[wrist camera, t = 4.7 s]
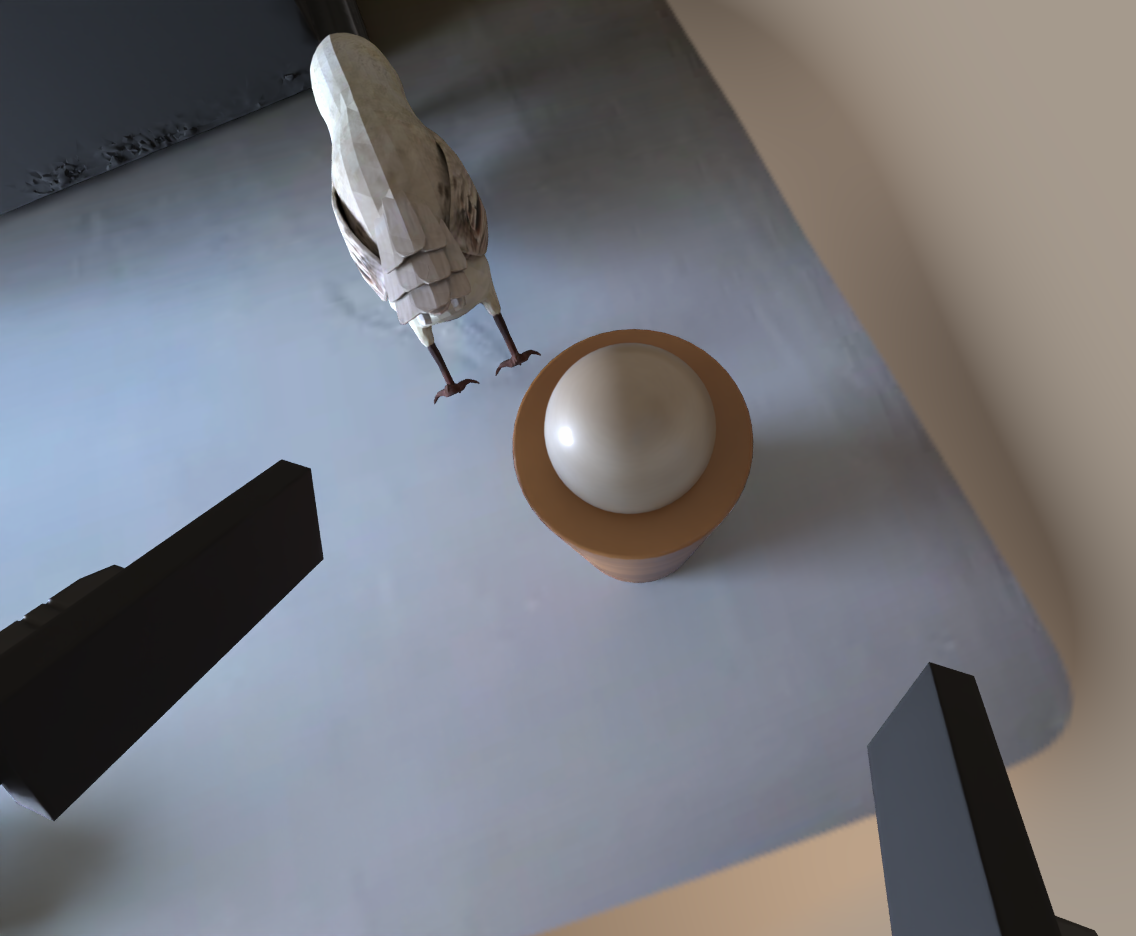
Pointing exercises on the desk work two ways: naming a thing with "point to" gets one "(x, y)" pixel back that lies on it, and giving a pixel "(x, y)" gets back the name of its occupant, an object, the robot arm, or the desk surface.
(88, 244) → the desk surface
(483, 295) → the decorative bird
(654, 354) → the pepper mill
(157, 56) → the bookend
